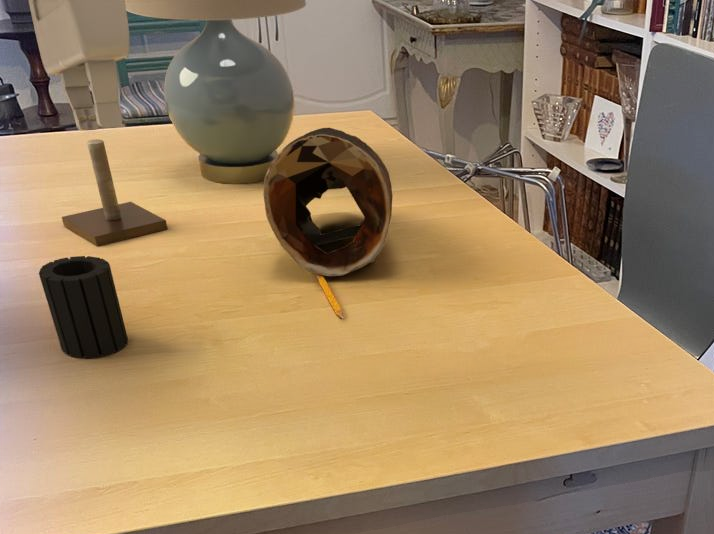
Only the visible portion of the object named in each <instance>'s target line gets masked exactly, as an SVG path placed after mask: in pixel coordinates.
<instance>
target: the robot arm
mask: <svg viewBox="0 0 714 534" xmlns="http://www.w3.org/2000/svg"><path fill="white" fill-rule="evenodd" d="M28 6H29V10H30V13H31V15H30V16H31V19H32V23H33V29H34V33H35V37H36V42H37V46H38V50H39V55H40V59H41V62H42V65H43V67H44V69H45V72H46V73H47V74H48V75H49V76H60V81H61V84H62V88H63V91H64V93H65V96H66V98H67V101H68V103H69V105H70V107H71V110H72V115H73V118H74V122H75V126H76V128H77V129H78V130H79V131H82V132H83V131H84V132H85V131H96V130H98V129H99V128H102V129H108V128H109V129H110V128H119V127H121V126H122V125H123V117H122V113H121V108H120V102H119V77H118V73H117V68H116V63H115V62H117V61H118V62H119V61H121V60H123V59H125V58H128V57H129V55H130V42H131V41H130V28H129V27H130V26H129V20H128V13H127V12H128V11H127V10H126V5H125V0H28ZM90 89H91V90H90Z"/></svg>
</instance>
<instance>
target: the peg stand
mask: <svg viewBox="0 0 714 534" xmlns="http://www.w3.org/2000/svg"><path fill="white" fill-rule="evenodd" d="M86 144H87V148H88V152H89V156H90V160H91V164H92V168H93V174H94V177H95V182H96V185H97V189H98V193H99V198H100V201H101V205H102V207H101V208H96V209H90V210H87V211H81V212H78V213H71V214H69V215H68V214H67V215H63V216H61V222H62V224H63V226H64V227H65V228H67V229H68V230H69V231H72V232H73V233H75V234H76V235H78V236H80V237H81V238H83V239H85V240H86V241H89V243H91V244H93V245H94V246H96V247H100V246H104V245H108V244H112V243H115V242H120V241H125V240H129V239H133V238H137V237H141V236H145V235H149V234H153V233H158V232H162V231H165V230H168V224H167V219H165V218H163V217H161V216H159V215H157V214H155V213H153V212H152V211H150V210H148V209H146V208H144V207H142V206H140V205H138V204H136V203H134V202H133V201H126V202H123V203H119V201H118V198H117V192H116V189H115V184H114V180H113V176H112V172H111V166H110V163H109V158H108V154H107V150H106V145H105V141H104V140H103V139H99V138H98V139H89V140H88V141H87V142H86Z"/></svg>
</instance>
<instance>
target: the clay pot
mask: <svg viewBox="0 0 714 534" xmlns="http://www.w3.org/2000/svg"><path fill="white" fill-rule="evenodd" d="M263 184H264V185H263V186H264V187H263V193H262V195H263V202H264V210H265V215H266V219H267V221H268V224H269V226H270V228H271V230H272V232H273V234H274V236H275V237H276V239H277V241H278V242H279V244H280V246H281V247H282V248H283V250H285V251H286V253H288V255H289V256H290V257H291V258H292V259H293V260H294V261H295V262H296V264H297V265H298V266H300V267H301V268H302V269H304V271H307V272H310V273H313V274H315V275H316V274H320V275H323V276H325V277H340V276H345V275H347V274H349V273H352V272H354V271H357V270H360V269H362V268H363V267H365V266H367V265H370V264H372V263H374V262H375V260H376V258H377V257H378V255H379V254H380V253H381V252H382V250H383V249H384V247H385V244H386V240H387V237H388V232H389V228H390V224H391V220H392V211H393V210H392V209H393V196H394V195H393V187H392V181H391V177H390V172H389V170H388V169H387V167H386V165H385V163H384V162H383V160H382V159H381V157H380V156H379V155H378V153H377V152H376V151H375V150H374V149H373V148H371V146H370V145H368V143H366V142H365V141H363V140H362V139H361V138H359V137H358V136H357V135H352V134H349V133H347V132H344V131H343V130H339V129H336V128H332V127H321V128H317V129H314V130H311V131H309V132H307V133H305V134H304V135H301V136H299V137H297V138H295V139H294V140H292V141H291V142H289V143H288V144H286V146H285V147H283V148H282V149H281V150H280V151H279V153H278V156H277V157H276V158H275V159H274V161H273V162H272V163H271V165H270V166H269V168H268V171H267V173H266V176H265V179H264V181H263ZM345 188H346V189H347V190H348V192H349V193H350V195H351V197H352V198H353V200H354V202H355V204H356V206H357V207H358V208H359V211H360V212H361V214H362V215H363V219H362V221H361V222H360V224H357V225H353V226H349V227H345V228H342V229H337V230H333V231H330V232H325V233H321V228H320V227H319V226H318V225H317V224H316V223H314V221H313V219H312V214H311V211H310V210H309V208H308V207H307V206H308V205H309V204H310V203H311V202H312V201H313V200H314V199H319V200H321V199H322V196H323V195H324V194H325V193H326V192H328V190H341V189H345ZM349 238H353V239H352V240H353V241H351V242H350V243H347V244H346V245H344V246H343V247H340V248H338V249H334V250H332V251H329V252H326V251H325V250H323V249H321V248H320V247H318V245H319V246H320V245H324V244H327V243H328V244H329V243H332V242H337V241H341V240H345V239H349Z"/></svg>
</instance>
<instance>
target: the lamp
mask: <svg viewBox="0 0 714 534" xmlns="http://www.w3.org/2000/svg"><path fill="white" fill-rule="evenodd" d="M125 5H126V12H128V13H131V14H134V15H138V16H142V17H148V18H154V19H165V20H177V21H178V20H179V21H180V20H181V21H205V23H204V28H203V29H202V30H201V32H200V33H199V34H198V35H197V36H196V37H195V38H194V39H192V40H190V41H189V42H188V43H186V44H185V45H184V46H183V47H181V49H180V50H178V51H177V52H176V54H175V55H174V56H173V57H172V59H171V61H170V62H169V64H168V67H167V69H166V72H165V77H164V83H163V97H164V98H163V99H164V103H165V108H166V111H167V115H168V117H169V120H170V121H171V122H172V125H173V127H174V129H175V131H176V132H177V134H178V135H179V136H180V138H181V139H182V140H183V141H184V142H185V144H187V145H188V146H189V147H190V148H191V149H192V150H193V151H195V152H196V153H198V154H199V155H198V163H199V169H200V170H199V171H200V175H201V177H202V178H203V179H205V180H208V181H210V182H213V183H220V184H229V185H241V184H242V185H243V184H244V185H245V184H252V183H259V182H264V179H265V176H266V173H267V171H268V168H269V166H270V165H271V163H272V162H273V161H274V159H275V158H276V157H277V156H278V154H279V153H278V151H277V150H278V149H279V148H280V147H281V145H283V143H284V141H285V139H287V137H288V134H289V133H290V131H291V128H292V124H293V120H294V116H295V107H296V105H295V94H294V89H293V84H292V82H291V79H290V76H289V74H288V73H287V71H286V68H285V66H284V65H283V63H281V61H280V60H279V58H278V57H277V56H276V55H275V54H274V53H273V52H271V50H269V49H268V48H267V47H265V46H264V45H262V44H261V43H259V42H257V41H256V40H253V39H252V38H250V37H249V36H246V35H245V34H244V33H242V32H241V31H240V30H239V29H238V28H237V26H235V24H234V22H233V20H235V21H236V20H249V19H258V18H259V19H260V18H268V17H274V16H281V15H285V14H290V13H294V12H297V11H300V10H301V9H304V8H305V7H306V6H307V2H306V0H125Z"/></svg>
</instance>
